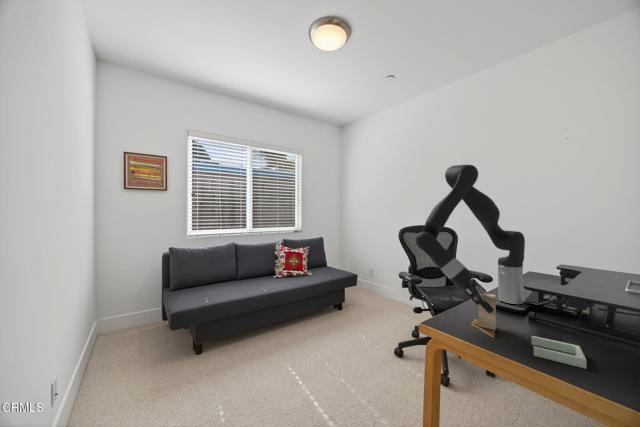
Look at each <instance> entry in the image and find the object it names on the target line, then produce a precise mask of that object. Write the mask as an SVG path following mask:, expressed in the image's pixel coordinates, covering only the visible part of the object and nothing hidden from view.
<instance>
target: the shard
mask: <svg viewBox="0 0 640 427" xmlns="http://www.w3.org/2000/svg"><path fill="white" fill-rule="evenodd" d="M470 326H471V327H473V328H476V329H477V330H479V331H481V333H482V332H483V333H484V334H486V335H488V336H490V337H491V338H495V334H496V333H495V332H496V330H494V329H489V328H484V327H480V326H479V318H474V319H473V321H472V322H471V323H470Z"/></svg>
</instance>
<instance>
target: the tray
mask: <svg viewBox="0 0 640 427" xmlns="http://www.w3.org/2000/svg"><path fill="white" fill-rule="evenodd" d="M531 345H532V346H533V356H534V357H536V358H537V357H538V358H541V359H545V360H549V361H554V362H558V363H560V364H561V363H562V364H565V365H570V366H573V367H579V368H581V369H585V370H587V359H586V357H585V354H584V352H583V351H582V349H581V346H580V345H579V344H577V345H576V344H572V343H567V342H564V341H563V342H562V341H559V340H553V339H549V338H545V337H539V336H535V335H531Z"/></svg>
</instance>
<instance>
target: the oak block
mask: <svg viewBox="0 0 640 427" xmlns="http://www.w3.org/2000/svg"><path fill="white" fill-rule="evenodd" d="M482 297H483V298H484V299H485V301H486V302H487V303H488V304H489V305H490V306H491V307H492V308H493V309H494V311H493V312H491V313H488V312H487V311H486V310H485V309H484V308H483V307H482V306H481V305H477V306H478V320H479V326H480V327H484V328H489V329H494V330H495V331H496V328H497V314H496V313H497V311H496V310H497V308H496V307H497V306H496V294H491V293H487V294H485V293H482ZM478 300H479V299H478Z"/></svg>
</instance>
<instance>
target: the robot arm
mask: <svg viewBox="0 0 640 427" xmlns="http://www.w3.org/2000/svg"><path fill="white" fill-rule="evenodd" d="M444 177H445V181H446V183H447V185H448V186H449V187H450V188H451V191H450V192H449V193H448V194H447V195H445V197H444V198H442V199H441V200H440V201H439V202H438V203H437V204H436V205H434V207H433V208H432V210H431V212H430V213H429V214H428V217H427V219H426V221H425V224H424V226H423V227H422V228H421V229H422V230H421V231H420V232H419V233H417V235H416V237H415V244H416V246H417V247H418V248H419V249H420V250H422V251H423V252H424V253H426V255H427V256H429V257H430V259H431V261H432V262H433V263H434V264H435V265H436V266H437V267H438V268H439V269H440V270H441V272H442V273H443V274H444V275H445V277H447V279H449V280H450V281H451V282H452V283H453V284H454V285H455V287H457V288H458V289H459V288H462V287H464V293H465V294H466V295H467V296H468V297H469V298H470V299H471V300H472V302H474V303H475V305H477V306H478V305H481V306H482V307H483V308H484V309H485V310H486V311H487V312H488V313H491V312H493V311H494V309H493V308H492V307H491V306H490V305H489V304H488V303H487V302H486V301H485V299H484V298H483V297H482V293H485V294H488V293H487V290H486V289H485V288H484V287H483V286H482V284H480V283H478V281H477V280H476V279H475V278H474V277H475V276H474V274H473V273H472V272H471V271H470V270H469V269H468V268H467V267H466V266H465V265H464V264H463V263H462V262H461V261H460V260H458V259H457V258H455V257H454V255H453V254H451V253H450V252H449V251H448V250H447V249H446V248H444V246H443V245H442V244H441V242H439V241H438V236H439V235H440V232H441V231H442V230H443V229H444V227H445V225H446V223H447V222H448V220H449V219H450V216H451V215H452V213H453V211H454V210H455V209H456V208H457V206H458V205H459V204H460V203H461V201H463V202H464V203H465V205H466V206H467V208H468V209H469V210H470V211H471V213H472V214H473V216H474V217H475V218H476V219H477V221H478V222H479V223H480V224H481V226H482V227H483V229H484V230H485V232H486V233H487V235H488V237H489V239H490V241H491V242H492V244H493V246H494V247H496V248H497V249H499V250H501V251H509V253H508V255H507V256H502V257H499V258H497V282H498V284H497V289H498V297H497V298H498V299H499V300H500V301H503V302H506V303H511V304H521V303H523V304H524V261H525V260H524V259H525V249H526V248H525V246H526V239H525V236H524V234H523V233H522V231H521V232H520V231H515V230H504V229H502V228H501V226H500V225H499V220H500V217H501V216H500V215H501V214H500V213H501V212H500V209H499V208H498V206H497V205H496V203H495V202H494V200H493V199H492V198H490V197H489V196H488V195H487V194H485V193H484V192H482V191H480V190H478V188H476V187H474V185H475V184H476V182H477V180H478V178H479V171H478V169H477V167H476V166H475V165H472V164H459V165H452V166H450V167H448V168H447V169H446V170H445V174H444ZM478 299H479V300H478ZM499 300H498V301H499ZM500 301H499V302H500Z"/></svg>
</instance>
